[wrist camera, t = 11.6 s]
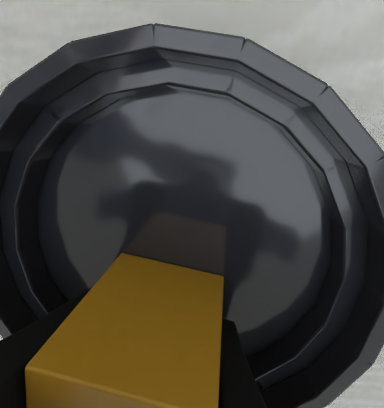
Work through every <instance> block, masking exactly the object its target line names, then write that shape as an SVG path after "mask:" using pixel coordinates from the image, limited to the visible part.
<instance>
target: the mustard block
mask: <svg viewBox="0 0 384 408" xmlns="http://www.w3.org/2000/svg"><path fill="white" fill-rule="evenodd" d="M223 287H224V277H223V276H220V275H216V274H212V273H207V272H203V271H199V270H194V269H190V268H186V267H181V266H177V265H173V264H168V263H164V262H160V261H156V260H151V259H147V258H143V257H138V256H134V255H130V254H125V253H121V254H120V255H119V257H118V258H117V259H116V260H115V261H114V262H113V264H112V265H111V266H110V267H109V268H108V270H107V271H106V272H105V273H104V274H103V275H102V277H101V278H100V279H99V280H98V281H97V283H96V284H95V285H94V286H93V287H92V288H91V290H90V291H89V292H88V293H87V294H86V295H85V297H84V298H83V299H82V300H81V301H80V303H79V304H78V305H77V306H76V307H75V308H74V310H73V311H72V312H71V313H70V314H69V316H68V317H67V318H66V319H65V320H64V321H63V323H62V324H61V325H60V326H59V327H58V329H57V330H56V331H55V332H54V333H53V334H52V336H51V337H50V338H49V339H48V340H47V342H46V343H45V344H44V345H43V346H42V347H41V349H40V350H39V351H38V352H37V353H36V354H35V356H34V357H33V358H32V359H31V360H30V362H29V363H28V364H27V365H26V368H25V384H26V408H218V402H219V379H220V356H221V333H222V310H223Z"/></svg>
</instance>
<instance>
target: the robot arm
mask: <svg viewBox="0 0 384 408" xmlns="http://www.w3.org/2000/svg"><path fill="white" fill-rule="evenodd" d="M91 288H92V287H91ZM91 288H89V289H88V290H86V291H84V292H83V293H81V294H80V295H78V296H76V297H75V298H73V299H72V300H70V301H68V302H67V303H65V304H63V305H62V306H60V307H59V308H57V309H55V310H54V311H52V312H50V313H49V314H47V315H45V316H44V317H42V318H40V319H39V320H37V321H35V322H33V323H32V324H30V325H28V326H26V327H24V328H23V329H21V330H19V331H17V332H15V333H13V334H12V335H10V336H8V337H6V338H4V339H3V340H1V341H0V408H26V384H25V368H26V365H27V364H28V363H29V362H30V360H31V359H32V358H33V357H34V356H35V354H36V353H37V352H38V351H39V350H40V349H41V347H42V346H43V345H44V344H45V343H46V342H47V340H48V339H49V338H50V337H51V336H52V334H53V333H54V332H55V331H56V330H57V329H58V327H59V326H60V325H61V324H62V323H63V321H64V320H65V319H66V318H67V317H68V316H69V314H70V313H71V312H72V311H73V310H74V308H75V307H76V306H77V305H78V304H79V303H80V301H81V300H82V299H83V298H84V297H85V295H86V294H87V293H88V292H89V291H90V290H91ZM218 408H267V407H266V404H265V402H264V400H263V398H262V396H261V393H260V391H259V389H258V386H257V384H256V381H255V379H254V376H253V374H252V371H251V369H250V367H249V364H248V361H247V359H246V356H245V353H244V350H243V347H242V344H241V341H240V338H239V335H238V331H237V328H236V324H235V323H234V321H230V320H226V319H222V333H221V356H220V379H219V402H218Z"/></svg>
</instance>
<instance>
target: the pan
mask: <svg viewBox="0 0 384 408" xmlns="http://www.w3.org/2000/svg"><path fill="white" fill-rule="evenodd" d="M121 253H125V254H130V255H134V256H138V257H143V258H147V259H151V260H156V261H160V262H164V263H168V264H173V265H177V266H181V267H186V268H190V269H194V270H199V271H203V272H207V273H212V274H216V275H220V276H223V277H224V287H223V310H222V319H226V320H230V321H234V323H235V324H236V328H237V331H238V335H239V338H240V341H241V344H242V347H243V350H244V353H245V356H246V359H247V361H248V364H249V367H250V369H251V371H252V374H253V376H254V379H255V381H256V384H257V386H258V389H259V391H260V393H261V396H262V398H263V400H264V402H265V404H266V407H267V408H324V407H326V406H327V405H329V404H330V403H331V402H333V401H334V400H335V399H336V398H337V397H338V396H339V395H340V394H341V393H342V392H344V391H345V390H346V389H347V388H348V387H349V386H350V385H351V384H352V383H353V382H355V381H356V380H357V379H358V378H359V377H360V376H361V375H362V374H363V373H364V372H366V371H367V370H368V369H369V368H370V367H371V366H372V364H374V362H375V360H376V358H377V356H378V354H379V353H380V351H381V349H382V347H383V345H384V151H383V150H382V149H381V148H380V147H379V145H378V144H377V143H376V142H375V140H374V139H373V138H372V137H371V135H370V134H369V133H368V132H367V131H366V129H365V128H364V127H363V126H362V124H361V123H360V122H359V121H358V119H357V118H356V117H355V116H354V115H353V113H352V112H351V111H350V110H349V108H348V107H347V106H346V105H345V103H344V102H343V101H342V100H341V99H340V97H339V96H338V95H337V94H336V92H335V91H334V90H333V89H332V87H331V86H328V85H327V83H325V82H324V81H322V80H320V79H318V78H317V77H315V76H313V75H311V74H310V73H308V72H306V71H304V70H302V69H301V68H299V67H297V66H295V65H294V64H292V63H290V62H288V61H287V60H285V59H283V58H281V57H280V56H278V55H276V54H274V53H273V52H271V51H269V50H267V49H266V48H264V47H262V46H260V45H259V44H257V43H255V42H253V41H252V40H250V39H245V38H244V37H241V36H234V35H228V34H222V33H215V32H209V31H202V30H196V29H189V28H183V27H177V26H170V25H164V24H157V23H156V24H154V25H153V24H147V25H142V26H138V27H133V28H129V29H124V30H120V31H115V32H111V33H106V34H102V35H97V36H93V37H88V38H84V39H80V40H75V41H71V42H70V43H67V44H66V45H64V46H63V47H61V48H60V49H58V50H57V51H56V52H54V53H53V54H51V55H50V56H48V57H47V58H46V59H44V60H43V61H41V62H40V63H38V64H37V65H35V66H34V67H33V68H31V69H30V70H28V71H27V72H25V73H24V74H23V75H21V76H20V77H18V78H17V79H15V80H14V81H12V82H11V83H10V84H8V86H7V87H5V89H4V90H3V92H2V94H1V95H0V335H1V336H2V337H3V339H4V338H6V337H8V336H10V335H12V334H13V333H15V332H17V331H19V330H21V329H23V328H24V327H26V326H28V325H30V324H32V323H33V322H35V321H37V320H39V319H40V318H42V317H44V316H45V315H47V314H49V313H50V312H52V311H54V310H55V309H57V308H59V307H60V306H62V305H63V304H65V303H67V302H68V301H70V300H72V299H73V298H75V297H76V296H78V295H80V294H81V293H83V292H84V291H86V290H88V289H89V288H91V287H93V286H94V285H95V284H96V283H97V281H98V280H99V279H100V278H101V277H102V275H103V274H104V273H105V272H106V271H107V270H108V268H109V267H110V266H111V265H112V264H113V262H114V261H115V260H116V259H117V258H118V257H119V255H120V254H121Z"/></svg>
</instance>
